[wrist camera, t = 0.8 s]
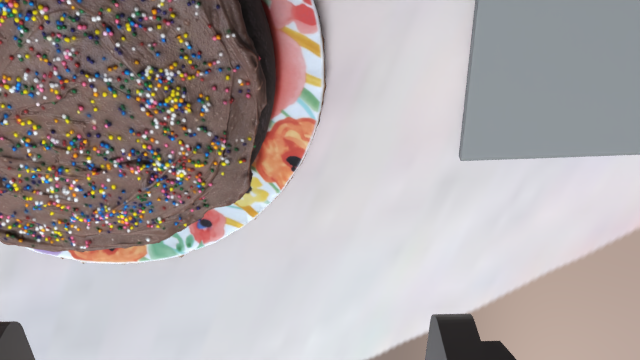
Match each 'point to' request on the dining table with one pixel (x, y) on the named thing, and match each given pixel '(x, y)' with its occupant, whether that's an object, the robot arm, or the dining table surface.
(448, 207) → the dining table surface
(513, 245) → the dining table surface
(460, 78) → the dining table surface
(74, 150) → the chocolate cake
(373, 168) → the dining table surface
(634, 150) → the mat
